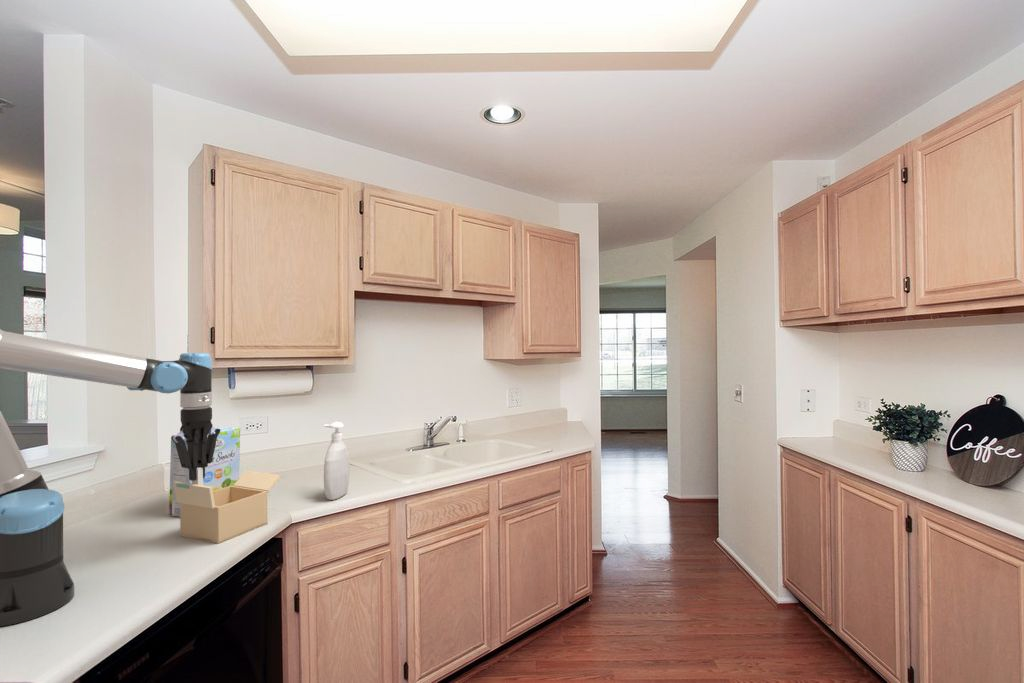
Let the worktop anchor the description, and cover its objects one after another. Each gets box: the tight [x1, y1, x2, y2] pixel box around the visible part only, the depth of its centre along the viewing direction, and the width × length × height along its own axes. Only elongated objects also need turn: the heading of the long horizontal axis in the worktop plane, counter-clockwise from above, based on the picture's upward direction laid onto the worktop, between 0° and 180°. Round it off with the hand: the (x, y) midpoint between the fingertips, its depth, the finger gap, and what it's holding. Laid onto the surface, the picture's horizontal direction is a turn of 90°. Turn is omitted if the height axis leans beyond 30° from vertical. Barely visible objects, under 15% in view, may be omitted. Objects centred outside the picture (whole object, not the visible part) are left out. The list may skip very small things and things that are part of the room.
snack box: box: [168, 426, 241, 517], centre depth 167 cm, size 22×9×26 cm, turn 168°
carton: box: [179, 486, 268, 545], centre depth 146 cm, size 16×16×10 cm
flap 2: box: [234, 470, 282, 493], centre depth 156 cm, size 6×15×1 cm
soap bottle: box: [323, 421, 351, 501], centre depth 177 cm, size 14×8×27 cm, turn 170°
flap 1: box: [173, 481, 215, 509], centre depth 137 cm, size 6×15×1 cm
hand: (197, 490), depth 138 cm, fingers closed
